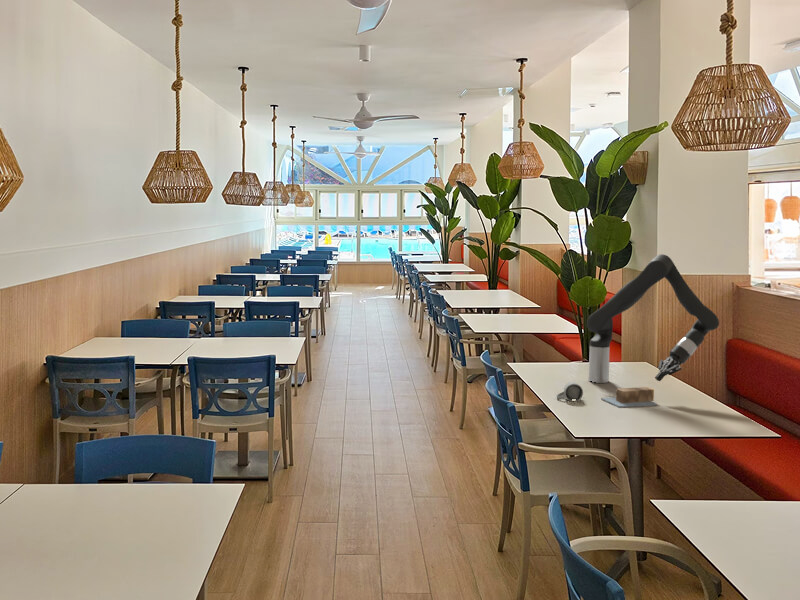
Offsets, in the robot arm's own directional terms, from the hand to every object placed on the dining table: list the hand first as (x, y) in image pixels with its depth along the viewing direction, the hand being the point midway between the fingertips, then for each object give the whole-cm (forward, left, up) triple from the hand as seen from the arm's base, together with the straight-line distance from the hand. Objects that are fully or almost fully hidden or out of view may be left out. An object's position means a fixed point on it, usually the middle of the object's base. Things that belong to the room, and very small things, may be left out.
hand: (657, 379), depth 309 cm
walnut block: (+2, -2, -6) cm, 7 cm away
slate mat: (+11, -7, -9) cm, 16 cm away
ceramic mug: (+25, -27, -10) cm, 38 cm away
